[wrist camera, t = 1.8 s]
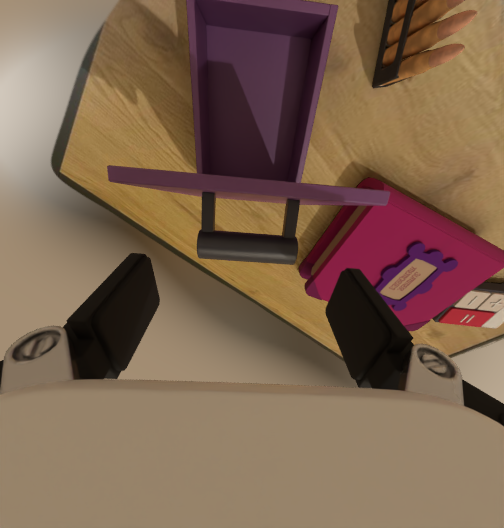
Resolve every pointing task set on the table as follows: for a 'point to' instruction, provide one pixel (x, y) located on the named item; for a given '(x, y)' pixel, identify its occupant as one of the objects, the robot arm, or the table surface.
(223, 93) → the box
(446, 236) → the book
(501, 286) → the calculator
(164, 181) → the lid
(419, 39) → the ammunition clip
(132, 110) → the table surface
